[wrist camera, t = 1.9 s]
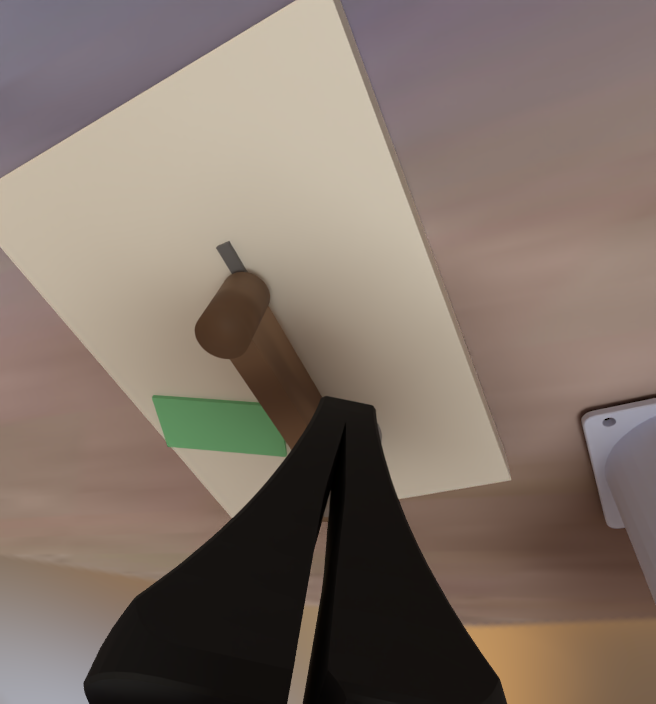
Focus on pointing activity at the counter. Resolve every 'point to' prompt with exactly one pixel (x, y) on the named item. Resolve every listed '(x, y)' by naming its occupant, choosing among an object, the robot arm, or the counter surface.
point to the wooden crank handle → (260, 354)
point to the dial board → (256, 257)
